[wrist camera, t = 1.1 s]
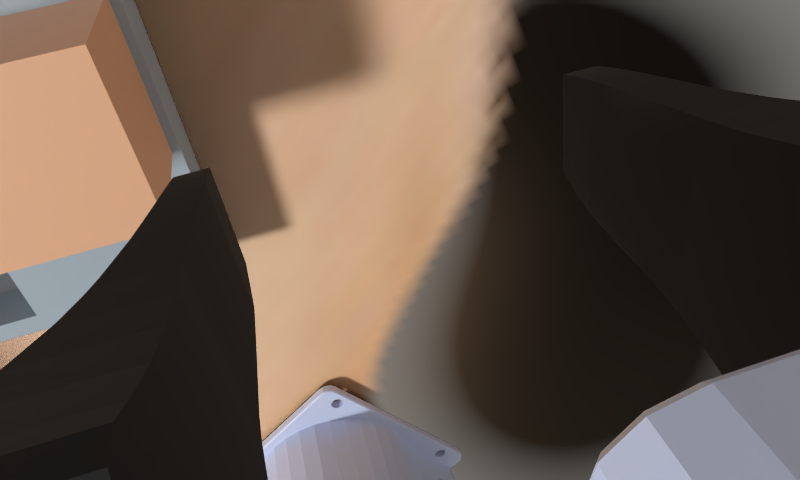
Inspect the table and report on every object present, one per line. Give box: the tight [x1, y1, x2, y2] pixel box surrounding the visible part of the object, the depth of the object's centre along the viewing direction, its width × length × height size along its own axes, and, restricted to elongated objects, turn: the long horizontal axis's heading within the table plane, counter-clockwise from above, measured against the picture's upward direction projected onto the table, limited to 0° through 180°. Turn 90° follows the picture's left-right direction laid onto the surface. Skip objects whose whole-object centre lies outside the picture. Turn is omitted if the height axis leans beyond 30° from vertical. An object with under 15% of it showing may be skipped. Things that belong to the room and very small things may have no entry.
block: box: [0, 0, 172, 274], centre depth 15 cm, size 4×4×4 cm
